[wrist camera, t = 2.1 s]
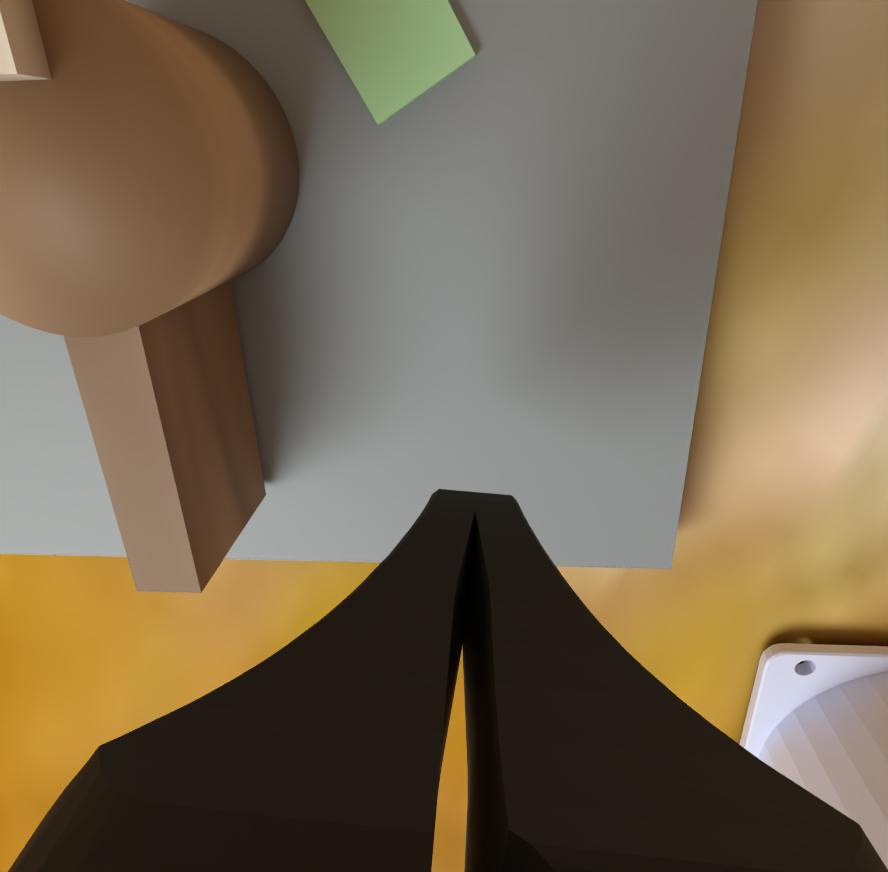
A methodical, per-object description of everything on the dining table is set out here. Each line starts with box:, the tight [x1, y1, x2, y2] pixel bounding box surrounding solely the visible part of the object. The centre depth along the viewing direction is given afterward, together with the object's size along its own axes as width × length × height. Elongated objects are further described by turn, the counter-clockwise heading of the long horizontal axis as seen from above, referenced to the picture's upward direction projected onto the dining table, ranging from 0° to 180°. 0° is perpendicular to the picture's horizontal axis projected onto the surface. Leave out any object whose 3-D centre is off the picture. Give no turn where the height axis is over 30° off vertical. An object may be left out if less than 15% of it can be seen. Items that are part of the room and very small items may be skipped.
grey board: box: [0, 0, 758, 569], centre depth 13 cm, size 18×16×1 cm
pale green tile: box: [305, 0, 476, 125], centre depth 10 cm, size 2×3×1 cm
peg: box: [0, 0, 299, 593], centre depth 10 cm, size 4×12×5 cm, turn 2°
